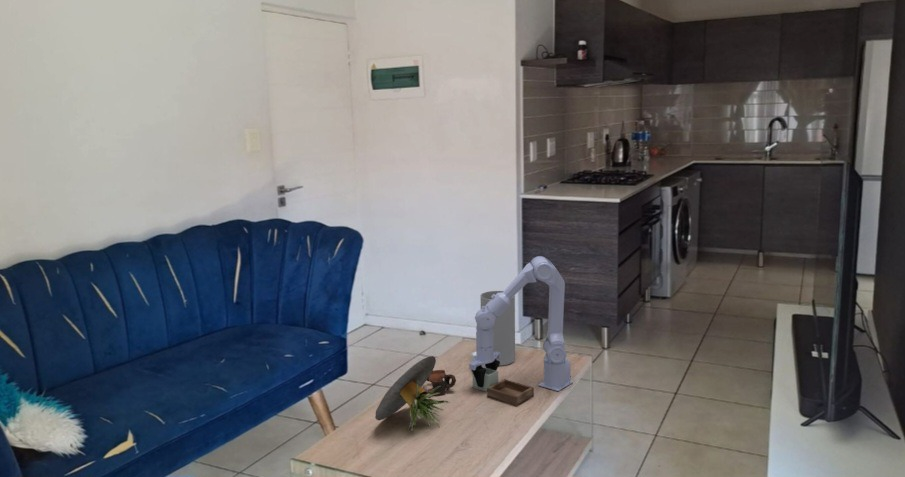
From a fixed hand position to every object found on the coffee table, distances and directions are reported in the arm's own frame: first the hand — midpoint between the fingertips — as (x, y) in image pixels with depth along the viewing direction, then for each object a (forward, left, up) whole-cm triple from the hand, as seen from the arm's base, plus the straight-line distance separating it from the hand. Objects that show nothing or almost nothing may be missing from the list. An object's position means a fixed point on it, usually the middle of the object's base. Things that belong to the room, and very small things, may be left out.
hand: (485, 383), depth 236 cm
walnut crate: (+1, +11, -1) cm, 11 cm away
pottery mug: (+11, -11, -2) cm, 16 cm away
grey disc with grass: (+34, -1, -2) cm, 34 cm away
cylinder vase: (-23, -12, -2) cm, 26 cm away
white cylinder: (-10, -10, -2) cm, 14 cm away
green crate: (0, 0, -1) cm, 1 cm away
